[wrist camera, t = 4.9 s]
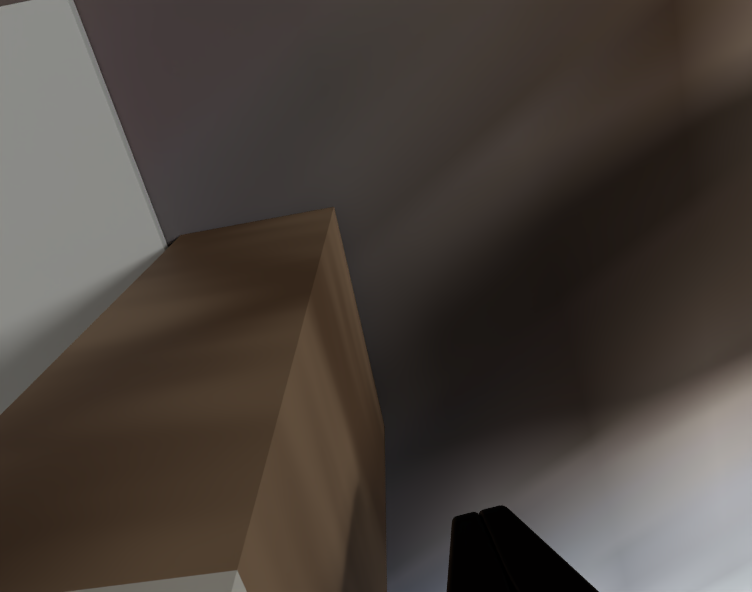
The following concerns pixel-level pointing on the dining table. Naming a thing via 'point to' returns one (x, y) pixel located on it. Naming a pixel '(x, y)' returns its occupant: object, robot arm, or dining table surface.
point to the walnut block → (206, 430)
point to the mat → (61, 192)
